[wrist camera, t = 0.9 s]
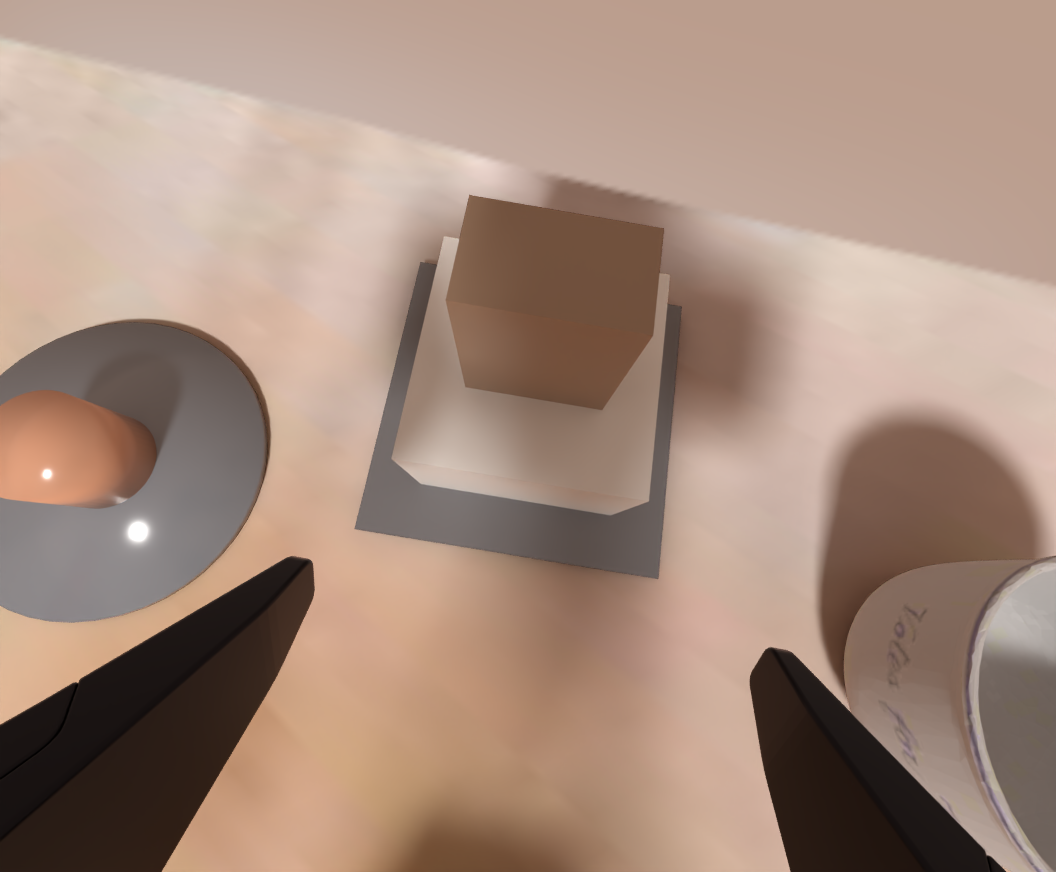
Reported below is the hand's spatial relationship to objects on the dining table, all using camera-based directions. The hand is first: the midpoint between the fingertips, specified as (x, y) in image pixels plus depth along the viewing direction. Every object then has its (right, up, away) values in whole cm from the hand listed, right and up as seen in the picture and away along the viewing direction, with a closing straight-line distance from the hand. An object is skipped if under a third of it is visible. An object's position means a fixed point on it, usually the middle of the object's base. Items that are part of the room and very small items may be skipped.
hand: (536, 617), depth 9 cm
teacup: (+18, -9, +12) cm, 24 cm away
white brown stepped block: (0, +5, +14) cm, 15 cm away
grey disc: (-20, +2, +13) cm, 24 cm away
